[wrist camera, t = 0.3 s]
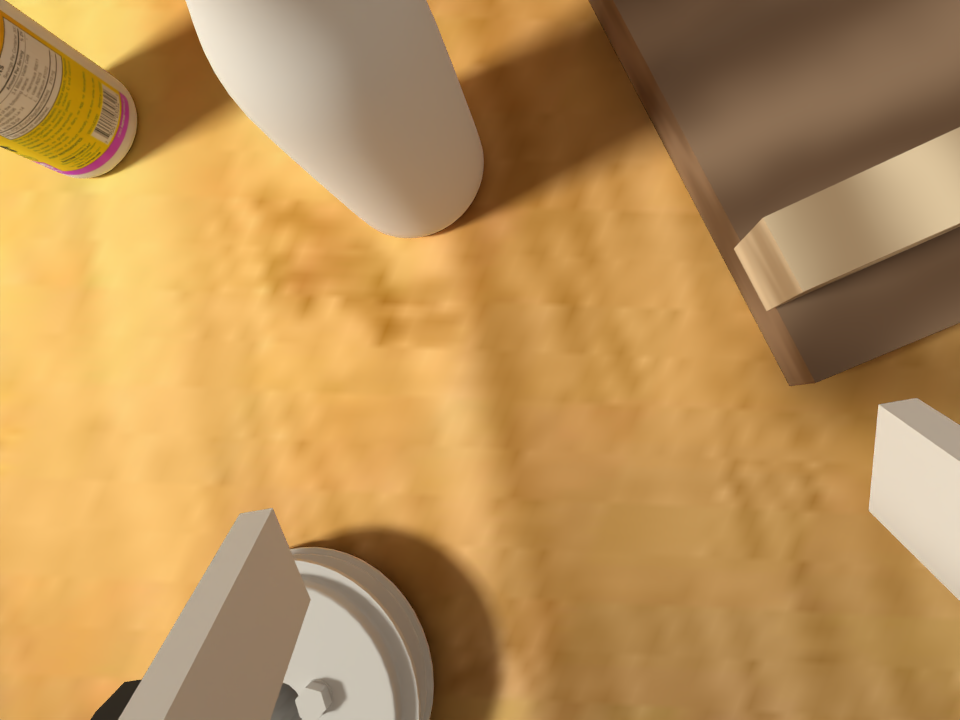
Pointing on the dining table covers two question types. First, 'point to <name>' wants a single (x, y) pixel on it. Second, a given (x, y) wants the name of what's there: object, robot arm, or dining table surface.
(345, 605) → the lid
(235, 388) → the dining table surface
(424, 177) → the milk bottle
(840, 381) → the dining table surface
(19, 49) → the supplement bottle
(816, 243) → the folding leg
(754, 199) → the stool seat
